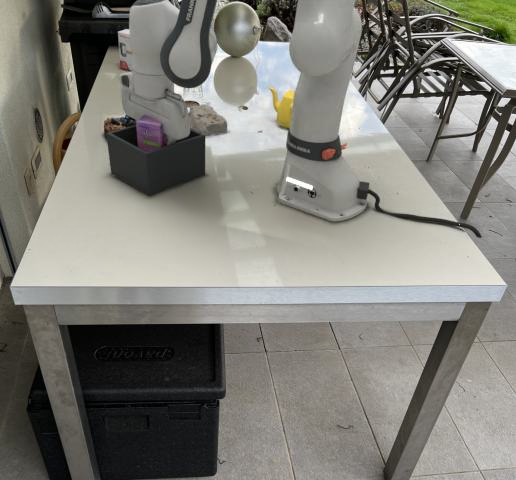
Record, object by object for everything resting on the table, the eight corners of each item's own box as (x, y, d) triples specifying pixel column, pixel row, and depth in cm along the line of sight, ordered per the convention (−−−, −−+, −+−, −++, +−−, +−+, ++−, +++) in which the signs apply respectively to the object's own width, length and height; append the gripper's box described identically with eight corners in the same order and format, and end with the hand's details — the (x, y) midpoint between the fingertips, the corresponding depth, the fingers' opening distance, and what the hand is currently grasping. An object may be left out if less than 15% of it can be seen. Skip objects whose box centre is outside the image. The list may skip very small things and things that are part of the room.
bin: (205, 175, 133) (205, 135, 126) (149, 196, 123) (146, 154, 116) (167, 155, 139) (165, 116, 133) (111, 174, 129) (106, 132, 123)
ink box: (119, 68, 189) (116, 31, 181) (128, 65, 193) (125, 28, 185) (139, 73, 187) (137, 36, 179) (148, 70, 190) (146, 33, 182)
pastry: (99, 132, 147) (96, 111, 143) (140, 126, 152) (138, 105, 148) (114, 148, 140) (112, 125, 136) (156, 141, 146) (155, 119, 142)
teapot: (283, 136, 155) (287, 99, 148) (264, 119, 163) (267, 84, 156) (323, 131, 160) (329, 95, 153) (303, 116, 168) (308, 81, 161)
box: (162, 175, 125) (159, 125, 117) (139, 171, 126) (135, 121, 118) (176, 158, 133) (175, 109, 125) (155, 154, 134) (151, 105, 125)
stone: (232, 124, 150) (198, 123, 146) (228, 142, 154) (195, 142, 150) (218, 99, 157) (185, 97, 153) (214, 117, 161) (183, 116, 157)
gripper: (196, 94, 114) (196, 156, 123) (136, 69, 123) (141, 129, 133) (173, 100, 110) (175, 164, 120) (114, 73, 120) (120, 135, 129)
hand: (157, 145), depth 126 cm, fingers closed on box, 7 cm apart
